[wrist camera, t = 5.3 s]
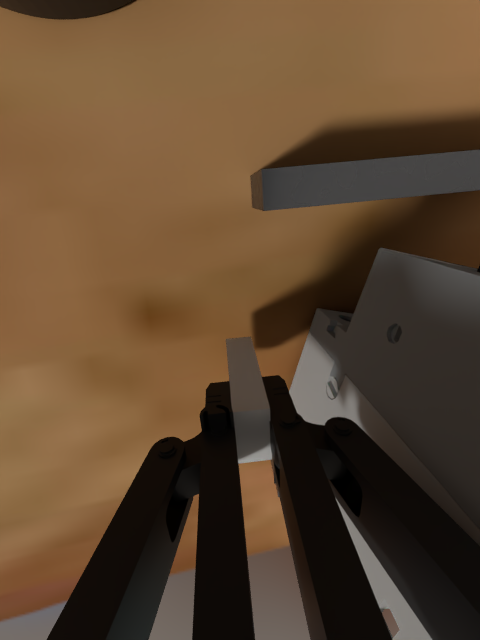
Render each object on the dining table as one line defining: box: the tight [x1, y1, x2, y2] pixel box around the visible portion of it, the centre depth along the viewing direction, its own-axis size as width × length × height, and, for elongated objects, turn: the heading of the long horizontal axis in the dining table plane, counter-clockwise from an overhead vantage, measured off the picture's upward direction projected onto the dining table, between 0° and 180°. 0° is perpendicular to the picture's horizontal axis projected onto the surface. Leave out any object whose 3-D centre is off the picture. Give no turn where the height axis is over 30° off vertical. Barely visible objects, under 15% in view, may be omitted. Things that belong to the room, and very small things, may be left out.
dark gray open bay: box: [251, 150, 480, 497], centre depth 18 cm, size 20×13×4 cm, turn 5°
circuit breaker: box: [289, 248, 480, 640], centre depth 13 cm, size 8×14×15 cm, turn 168°
